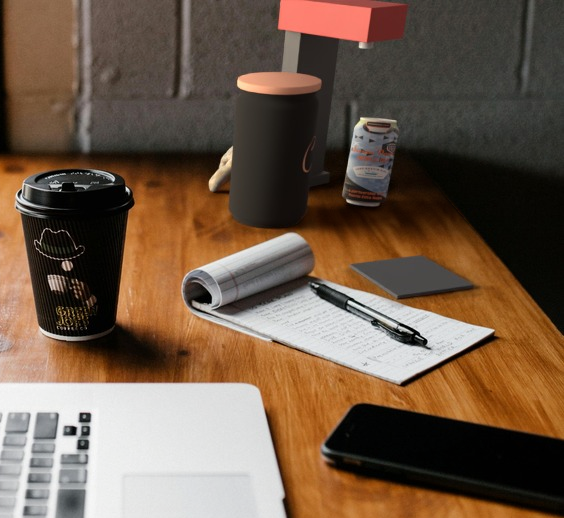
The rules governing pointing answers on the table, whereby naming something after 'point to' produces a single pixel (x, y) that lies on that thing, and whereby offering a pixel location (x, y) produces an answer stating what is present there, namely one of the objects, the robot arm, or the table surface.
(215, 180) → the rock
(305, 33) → the coffee maker
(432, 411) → the table surface
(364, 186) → the beverage can
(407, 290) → the mat
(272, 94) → the coffee jar
